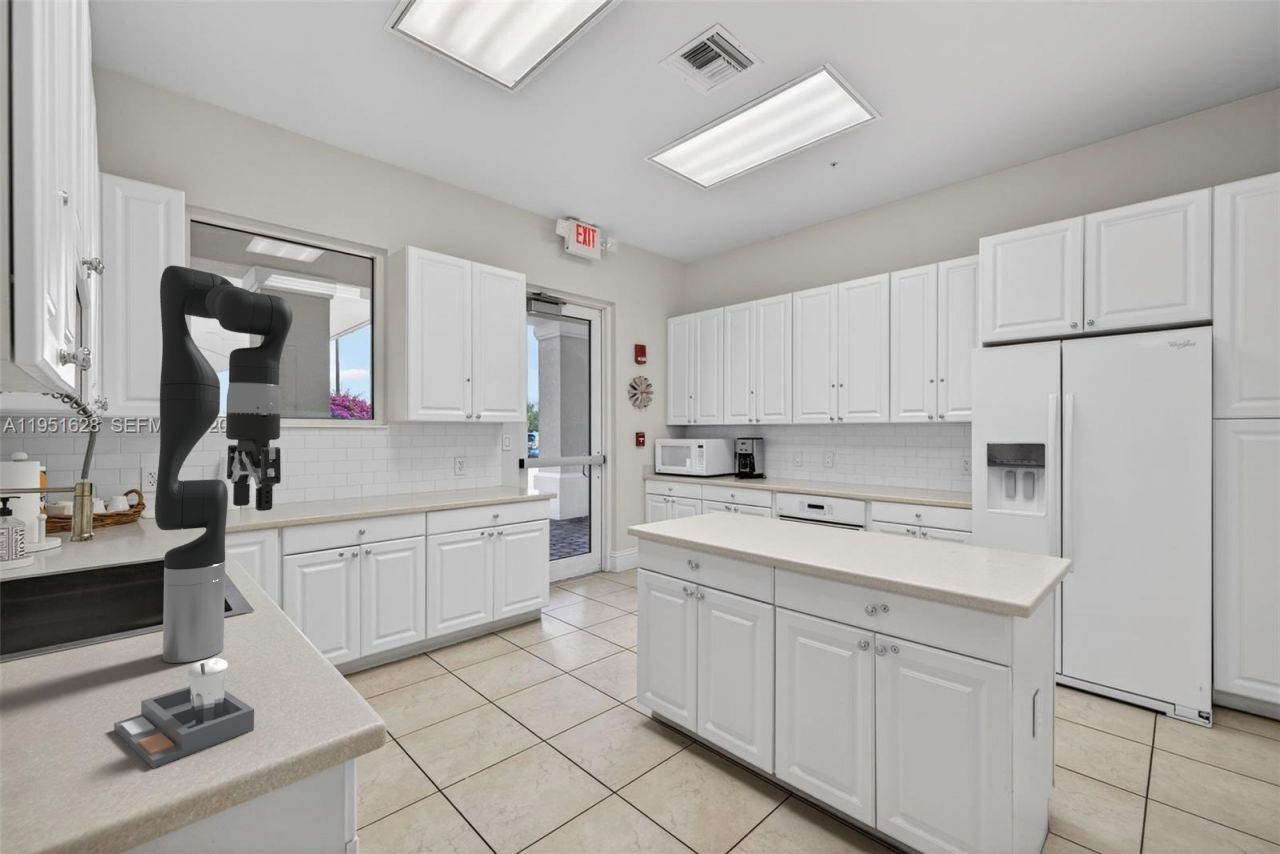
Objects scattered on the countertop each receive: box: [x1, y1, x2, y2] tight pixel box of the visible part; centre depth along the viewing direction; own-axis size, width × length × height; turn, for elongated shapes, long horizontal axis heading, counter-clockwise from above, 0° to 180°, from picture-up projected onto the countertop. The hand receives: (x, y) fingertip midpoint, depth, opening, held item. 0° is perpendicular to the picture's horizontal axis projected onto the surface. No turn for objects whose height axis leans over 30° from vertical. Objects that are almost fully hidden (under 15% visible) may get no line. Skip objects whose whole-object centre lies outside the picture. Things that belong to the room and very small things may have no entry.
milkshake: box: [187, 657, 229, 727], centre depth 81 cm, size 4×5×10 cm
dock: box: [113, 686, 255, 769], centre depth 82 cm, size 16×12×3 cm
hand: (252, 507), depth 96 cm, fingers open, 8 cm apart
